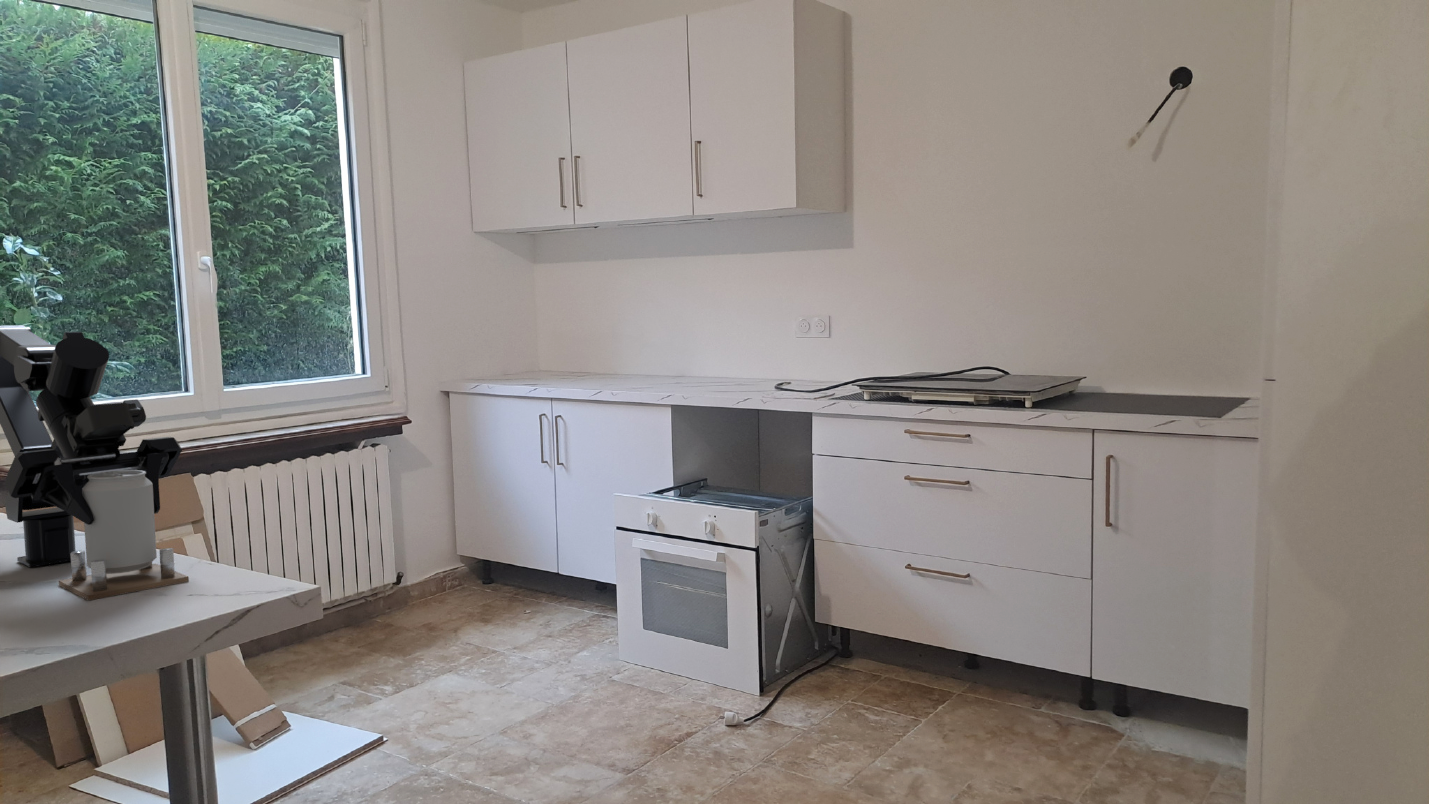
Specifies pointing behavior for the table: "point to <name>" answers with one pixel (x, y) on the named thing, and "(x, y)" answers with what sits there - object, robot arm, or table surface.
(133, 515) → the can
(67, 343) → the robot arm
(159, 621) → the table surface
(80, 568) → the standoff plate
